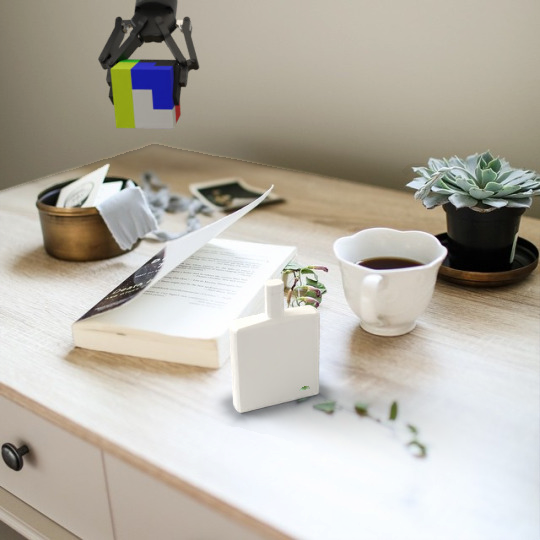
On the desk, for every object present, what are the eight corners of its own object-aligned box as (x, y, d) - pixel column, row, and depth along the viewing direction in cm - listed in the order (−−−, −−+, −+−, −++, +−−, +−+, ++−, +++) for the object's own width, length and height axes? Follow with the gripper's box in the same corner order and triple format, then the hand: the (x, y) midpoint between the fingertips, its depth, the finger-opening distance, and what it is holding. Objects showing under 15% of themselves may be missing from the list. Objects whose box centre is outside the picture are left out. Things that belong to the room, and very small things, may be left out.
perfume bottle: (312, 382, 63) (313, 269, 58) (320, 394, 62) (322, 278, 56) (231, 401, 61) (224, 285, 56) (237, 414, 59) (231, 295, 54)
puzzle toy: (173, 128, 117) (170, 69, 112) (116, 128, 117) (110, 69, 112) (180, 114, 126) (177, 59, 121) (127, 114, 126) (122, 59, 121)
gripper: (221, 10, 126) (212, 113, 119) (103, 11, 128) (87, 112, 121) (215, -18, 119) (205, 89, 112) (90, -18, 121) (72, 88, 114)
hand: (144, 101), depth 117 cm, fingers closed on puzzle toy, 10 cm apart
